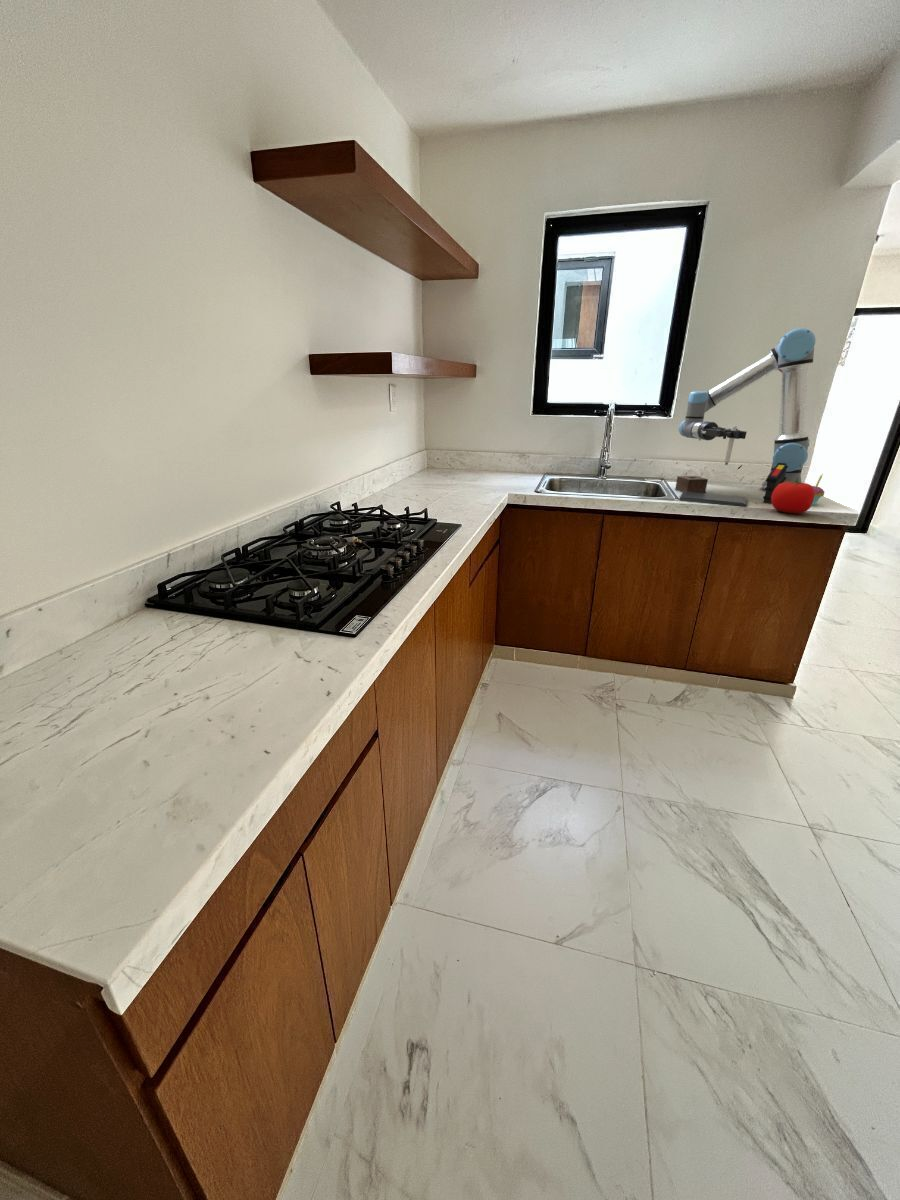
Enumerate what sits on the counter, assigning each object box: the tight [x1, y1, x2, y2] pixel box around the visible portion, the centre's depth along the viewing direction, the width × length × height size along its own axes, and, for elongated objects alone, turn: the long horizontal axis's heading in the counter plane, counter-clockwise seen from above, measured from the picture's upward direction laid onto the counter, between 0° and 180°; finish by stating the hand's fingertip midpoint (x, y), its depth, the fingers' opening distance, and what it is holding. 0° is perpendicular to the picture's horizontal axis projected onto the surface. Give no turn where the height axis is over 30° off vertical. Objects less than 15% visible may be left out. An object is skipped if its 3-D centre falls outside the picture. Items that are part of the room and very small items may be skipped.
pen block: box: [674, 475, 708, 493], centre depth 223 cm, size 9×9×6 cm
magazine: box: [762, 463, 788, 504], centre depth 202 cm, size 4×13×15 cm, turn 133°
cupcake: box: [811, 473, 825, 506], centre depth 198 cm, size 9×8×12 cm
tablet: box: [679, 491, 747, 507], centre depth 207 cm, size 24×17×1 cm
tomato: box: [771, 481, 814, 514], centre depth 183 cm, size 13×14×12 cm
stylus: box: [724, 425, 738, 466], centre depth 202 cm, size 2×2×15 cm
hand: (742, 435), depth 195 cm, fingers closed on stylus, 2 cm apart
